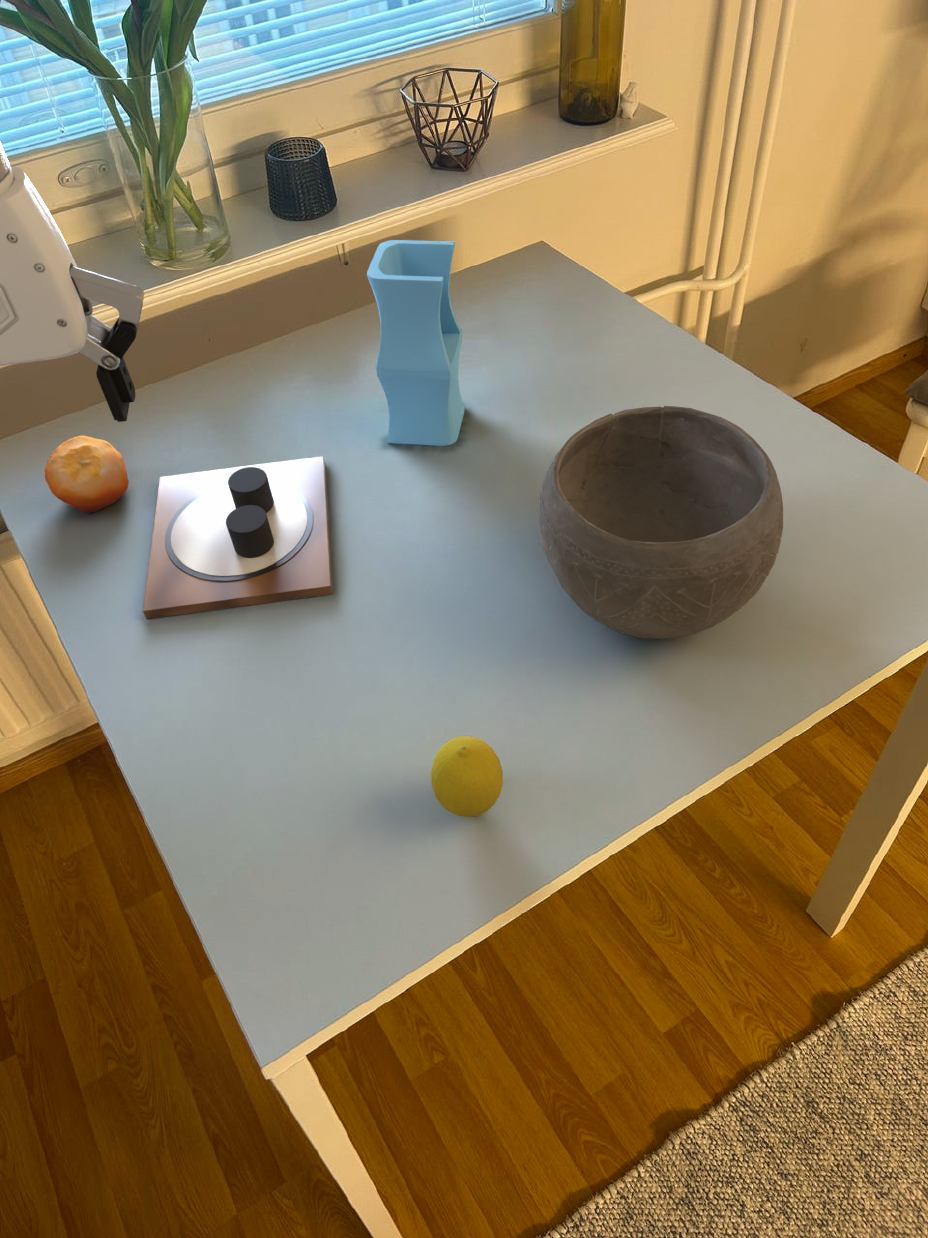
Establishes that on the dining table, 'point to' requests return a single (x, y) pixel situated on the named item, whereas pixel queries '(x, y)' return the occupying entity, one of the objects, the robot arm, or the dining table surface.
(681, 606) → the bowl
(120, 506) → the dining table surface
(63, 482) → the fruit
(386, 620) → the dining table surface
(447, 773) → the lemon
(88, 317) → the robot arm
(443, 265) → the vase
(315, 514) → the board
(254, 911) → the dining table surface
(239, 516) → the dot
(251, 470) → the dot
